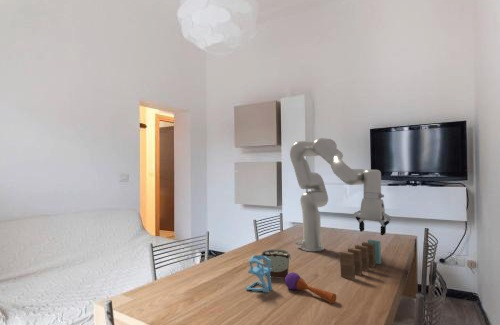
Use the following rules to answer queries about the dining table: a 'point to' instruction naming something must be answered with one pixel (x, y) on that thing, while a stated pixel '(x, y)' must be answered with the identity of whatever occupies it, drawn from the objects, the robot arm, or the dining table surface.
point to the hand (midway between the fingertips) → (372, 232)
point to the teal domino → (376, 250)
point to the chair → (260, 273)
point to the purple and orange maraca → (307, 287)
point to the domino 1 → (347, 265)
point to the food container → (277, 262)
